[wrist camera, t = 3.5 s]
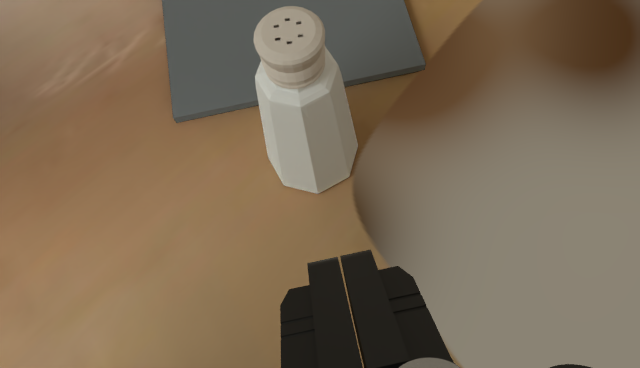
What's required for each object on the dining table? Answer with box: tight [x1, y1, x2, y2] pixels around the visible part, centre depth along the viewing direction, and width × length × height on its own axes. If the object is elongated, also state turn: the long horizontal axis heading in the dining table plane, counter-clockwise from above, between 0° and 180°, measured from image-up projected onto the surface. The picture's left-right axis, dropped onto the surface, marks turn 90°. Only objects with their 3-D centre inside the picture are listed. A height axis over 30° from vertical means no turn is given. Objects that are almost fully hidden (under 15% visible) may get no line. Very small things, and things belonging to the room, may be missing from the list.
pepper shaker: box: [253, 6, 358, 194], centre depth 23 cm, size 5×5×11 cm
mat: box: [162, 0, 426, 123], centre depth 32 cm, size 12×16×1 cm
